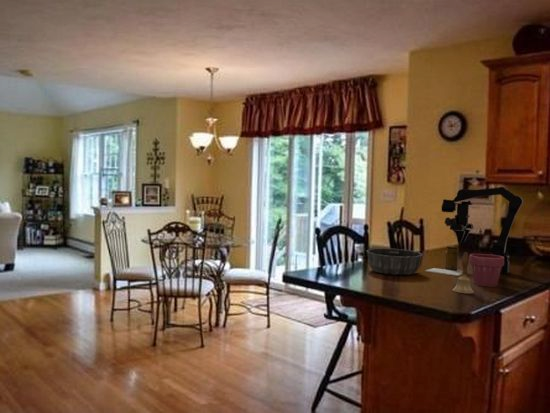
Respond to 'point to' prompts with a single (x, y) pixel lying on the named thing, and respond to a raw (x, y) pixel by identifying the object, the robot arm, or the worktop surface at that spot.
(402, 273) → the bundt pan
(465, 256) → the hand bell
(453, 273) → the mat
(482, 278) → the plant pot
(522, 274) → the worktop surface
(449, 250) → the condiment
